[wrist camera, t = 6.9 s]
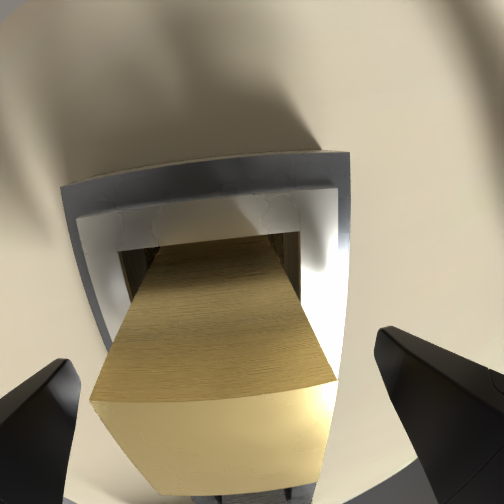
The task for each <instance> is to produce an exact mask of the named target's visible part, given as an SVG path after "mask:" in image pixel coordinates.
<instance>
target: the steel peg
mask: <svg viewBox="0 0 504 504" xmlns="http://www.w3.org/2000/svg"><path fill="white" fill-rule="evenodd" d="M222 504H287V503H286V498H285V493H284V488H283V489H277V490H270V491H262V492H254V493H243V494H231V495H222Z"/></svg>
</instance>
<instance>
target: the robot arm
mask: <svg viewBox="0 0 504 504" xmlns="http://www.w3.org/2000/svg"><path fill="white" fill-rule="evenodd" d="M374 357H375V360H376V363H377V365H378V368H379V371H380V373H381V376H382V379H383V381H384V384H385V387H386V389H387V392H388V395H389V397H390V400H391V402H392V404H393V406H394V408H395V410H396V412H397V414H398V416H399V418H400V420H401V422H402V424H403V426H404V428H405V430H406V432H407V435H408V437H409V439H410V441H411V443H412V445H413V447H414V449H415V452H416V454H417V456H418V458H419V460H420V462H421V465H422V467H423V469H424V471H425V474H426V476H427V478H428V480H429V483H430V485H431V487H432V490H433V492H434V494H435V497H436V499H437V502H438V504H504V375H503V374H501V373H499V372H496V371H494V370H492V369H489V370H488V368H487V367H485V366H482V365H480V364H478V363H475V362H473V361H471V360H469V359H466V358H464V357H462V356H459V355H457V354H455V353H453V352H450V351H448V350H446V349H443V348H441V347H439V346H437V345H434V344H432V343H430V342H428V341H425V340H423V339H421V338H419V337H416V336H414V335H412V334H409V333H407V332H405V331H403V330H401V329H398V328H396V327H394V326H387V327H383V328H380V329H379V330H378V332H377V337H376V342H375V348H374ZM80 390H81V380H80V378H79V376H78V374H77V372H76V370H75V368H74V366H73V364H72V362H71V361H70V360H69V359H63V358H58V359H56V360H54V361H53V362H51V363H50V364H49V365H47V366H46V367H44V368H43V369H41V370H40V371H39V372H37V373H36V374H34V375H33V376H31V377H30V378H29V379H27V380H26V381H24V382H23V383H22V384H20V385H19V386H17V387H16V388H14V389H13V390H12V391H10V392H9V393H8V394H6V395H5V396H3V397H2V398H1V399H0V504H62V502H63V494H64V486H65V480H66V473H67V467H68V461H69V456H70V451H71V446H72V441H73V436H74V431H75V426H76V419H77V411H78V403H79V397H80Z"/></svg>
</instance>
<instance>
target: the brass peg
mask: <svg viewBox="0 0 504 504" xmlns="http://www.w3.org/2000/svg"><path fill="white" fill-rule="evenodd" d="M337 384H338V380H337V378H336V376H335V374H334V372H333V369H332V367H331V365H330V363H329V361H328V359H327V357H326V355H325V353H324V351H323V348H322V346H321V344H320V342H319V340H318V338H317V336H316V334H315V332H314V330H313V328H312V326H311V324H310V322H309V319H308V317H307V315H306V313H305V311H304V309H303V307H302V305H301V303H300V301H299V299H298V297H297V295H296V293H295V291H294V289H293V287H292V285H291V283H290V281H289V279H288V277H287V275H286V273H285V271H284V269H283V267H282V265H281V263H280V261H279V259H278V257H277V255H276V253H275V251H274V249H273V247H272V245H271V243H270V241H269V239H268V237H267V235H256V236H247V237H238V238H228V239H219V240H210V241H201V242H192V243H184V244H175V245H167V246H161V247H160V249H159V251H158V253H157V254H156V256H155V258H154V260H153V262H152V264H151V266H150V268H149V270H148V271H147V273H146V275H145V277H144V279H143V281H142V283H141V285H140V287H139V289H138V291H137V293H136V295H135V297H134V299H133V301H132V303H131V305H130V307H129V309H128V311H127V314H126V316H125V318H124V320H123V322H122V324H121V326H120V328H119V331H118V333H117V335H116V337H115V339H114V342H113V344H112V346H111V348H110V351H109V353H108V355H107V357H106V360H105V362H104V364H103V367H102V369H101V371H100V374H99V376H98V379H97V381H96V384H95V386H94V389H93V391H92V394H91V396H90V399H89V402H90V403H91V405H92V406H93V408H94V410H95V411H96V413H97V414H98V416H99V417H100V419H101V420H102V422H103V423H104V425H105V426H106V428H107V429H108V431H109V432H110V434H111V435H112V436H113V438H114V439H115V441H116V442H117V443H118V445H119V446H120V447H121V449H122V450H123V451H124V453H125V454H126V455H127V457H128V458H129V459H130V460H131V462H132V463H133V464H134V465H135V467H136V468H137V469H138V470H139V472H140V473H141V474H142V475H143V476H144V477H145V479H146V480H147V481H148V482H149V483H150V484H151V485H152V487H153V488H154V489H155V490H156V491H157V492H158V493H159V494H160V495H177V496H211V495H231V494H243V493H254V492H262V491H270V490H277V489H283V488H289V487H294V486H300V485H305V484H309V483H314V482H318V479H319V475H320V471H321V467H322V463H323V459H324V454H325V450H326V445H327V440H328V435H329V430H330V425H331V420H332V414H333V409H334V403H335V397H336V391H337Z"/></svg>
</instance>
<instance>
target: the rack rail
mask: <svg viewBox="0 0 504 504" xmlns="http://www.w3.org/2000/svg"><path fill="white" fill-rule="evenodd" d="M60 189H61V195H62V200H63V206H64V211H65V216H66V221H67V225H68V230H69V234H70V238H71V242H72V246H73V250H74V254H75V258H76V262H77V265H78V269H79V272H80V276H81V279H82V282H83V285H84V289H85V292H86V295H87V298H88V301H89V304H90V307H91V310H92V312H93V315H94V318H95V321H96V323H97V326H98V329H99V331H100V334H101V336H102V339H103V341H104V344H105V346H106V349H107V351H108V353H109V351H110V348H111V346H112V344H113V342H114V339H115V337H116V335H117V333H118V331H119V328H120V326H121V324H122V322H123V320H124V318H125V316H126V314H127V311H128V309H129V307H130V305H131V303H132V301H133V299H134V297H135V295H136V293H137V291H138V289H139V287H140V285H141V283H142V281H143V279H144V277H145V275H146V273H147V271H148V270H149V269H148V265H147V260H146V255H145V251H144V248H150V247H158V246H167V245H175V244H184V243H192V242H201V241H210V240H219V239H228V238H238V237H247V236H256V235H266V234H276V233H283V252H284V271H285V273H286V275H287V277H288V279H289V281H290V283H291V285H292V287H293V289H294V291H295V293H296V295H297V297H298V299H299V301H300V303H301V305H302V307H303V309H304V311H305V313H306V315H307V317H308V319H309V322H310V324H311V326H312V328H313V330H314V332H315V334H316V336H317V338H318V340H319V342H320V344H321V346H322V348H323V351H324V353H325V355H326V357H327V359H328V361H329V363H330V365H331V367H332V369H333V372H334V374H335V376H336V378H338V371H339V364H340V356H341V348H342V340H343V331H344V321H345V310H346V299H347V286H348V270H349V250H350V210H351V188H350V152H342V151H331V150H299V151H279V152H263V153H250V154H238V155H228V156H218V157H209V158H200V159H192V160H185V161H177V162H171V163H164V164H157V165H151V166H145V167H139V168H134V169H128V170H123V171H118V172H113V173H108V174H103V175H98V176H93V177H89V178H86V179H83V180H80V181H77V182H74V183H71V184H68V185H65V186H62V187H60ZM315 486H316V482H314V483H309V484H305V485H300V486H294V487H289V488H284V493H285V498H286V503H287V504H311V501H312V497H313V494H314V490H315ZM190 497H191V498H192V500H193V501H194V502H195V503H196V504H222V495H211V496H190Z"/></svg>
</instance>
